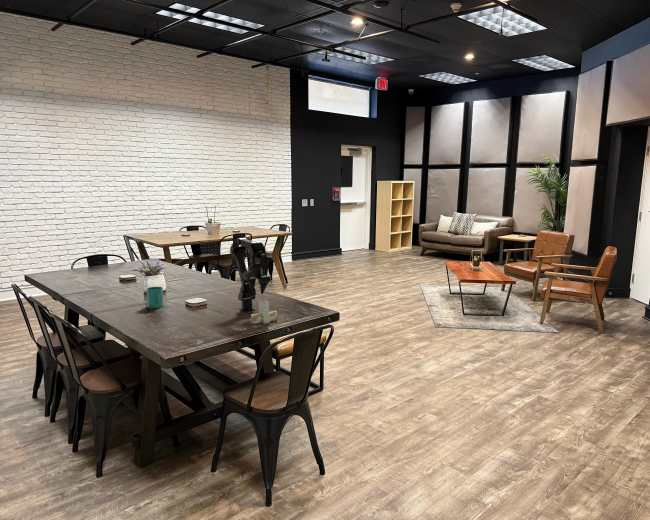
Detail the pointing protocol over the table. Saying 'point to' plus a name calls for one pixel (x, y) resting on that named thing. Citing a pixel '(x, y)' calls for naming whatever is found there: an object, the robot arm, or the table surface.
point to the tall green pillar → (264, 310)
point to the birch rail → (258, 319)
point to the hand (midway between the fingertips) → (257, 292)
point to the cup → (155, 297)
